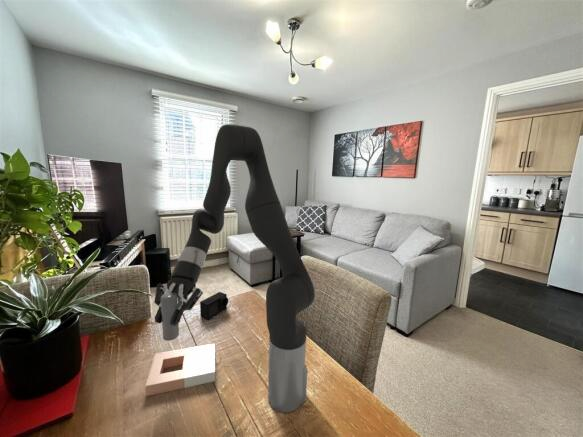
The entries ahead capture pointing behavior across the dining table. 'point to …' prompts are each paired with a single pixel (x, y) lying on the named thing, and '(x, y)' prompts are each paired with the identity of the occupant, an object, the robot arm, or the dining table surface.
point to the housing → (194, 370)
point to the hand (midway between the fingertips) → (165, 323)
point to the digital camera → (213, 305)
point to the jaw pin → (169, 316)
